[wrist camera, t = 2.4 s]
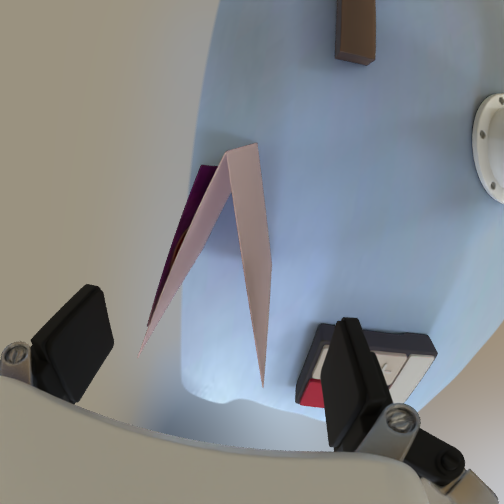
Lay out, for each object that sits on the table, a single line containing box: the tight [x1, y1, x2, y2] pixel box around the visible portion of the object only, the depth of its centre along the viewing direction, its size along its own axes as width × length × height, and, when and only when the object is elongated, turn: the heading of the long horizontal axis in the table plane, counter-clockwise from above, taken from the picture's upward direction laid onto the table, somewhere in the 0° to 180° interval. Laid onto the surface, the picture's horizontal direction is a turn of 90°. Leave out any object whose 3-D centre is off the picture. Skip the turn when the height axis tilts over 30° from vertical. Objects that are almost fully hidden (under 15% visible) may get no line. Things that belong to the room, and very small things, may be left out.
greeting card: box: [138, 143, 272, 387], centre depth 19 cm, size 11×7×15 cm, turn 153°
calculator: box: [295, 324, 438, 408], centre depth 30 cm, size 11×4×15 cm
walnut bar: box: [335, 0, 376, 66], centre depth 16 cm, size 3×12×2 cm, turn 175°
